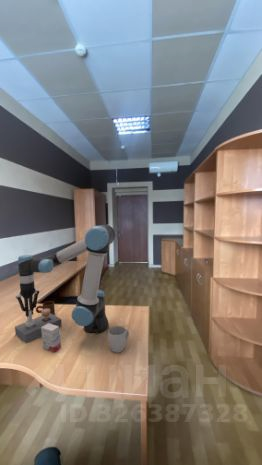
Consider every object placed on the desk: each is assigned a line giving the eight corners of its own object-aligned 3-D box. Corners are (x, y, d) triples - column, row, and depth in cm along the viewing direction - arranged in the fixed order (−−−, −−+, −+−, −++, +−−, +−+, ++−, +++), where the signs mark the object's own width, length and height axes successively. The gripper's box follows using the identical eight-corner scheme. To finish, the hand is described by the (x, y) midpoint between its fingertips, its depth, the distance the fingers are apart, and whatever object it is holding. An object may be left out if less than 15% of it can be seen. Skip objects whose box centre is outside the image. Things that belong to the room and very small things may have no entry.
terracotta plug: (52, 321, 134) (51, 309, 133) (44, 324, 130) (44, 312, 130) (48, 318, 137) (47, 307, 137) (40, 322, 134) (40, 310, 133)
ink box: (61, 347, 113) (60, 326, 112) (53, 353, 109) (52, 330, 108) (49, 343, 117) (48, 322, 116) (42, 348, 113) (40, 326, 112)
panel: (61, 326, 134) (61, 319, 134) (25, 343, 118) (25, 334, 117) (50, 319, 143) (49, 312, 143) (15, 334, 127) (14, 326, 126)
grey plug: (37, 332, 127) (36, 320, 126) (28, 336, 123) (27, 324, 122) (33, 330, 130) (32, 318, 129) (24, 333, 126) (23, 321, 126)
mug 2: (117, 356, 104) (116, 337, 104) (105, 349, 111) (104, 330, 110) (134, 344, 114) (134, 326, 113) (122, 338, 120) (122, 321, 119)
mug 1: (37, 322, 141) (36, 308, 140) (35, 317, 147) (34, 304, 146) (56, 316, 147) (55, 303, 147) (53, 312, 154) (52, 300, 153)
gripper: (35, 277, 131) (37, 314, 133) (12, 283, 121) (15, 323, 123) (41, 280, 126) (43, 318, 128) (17, 286, 116) (21, 327, 119)
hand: (29, 320), depth 126 cm, fingers closed
